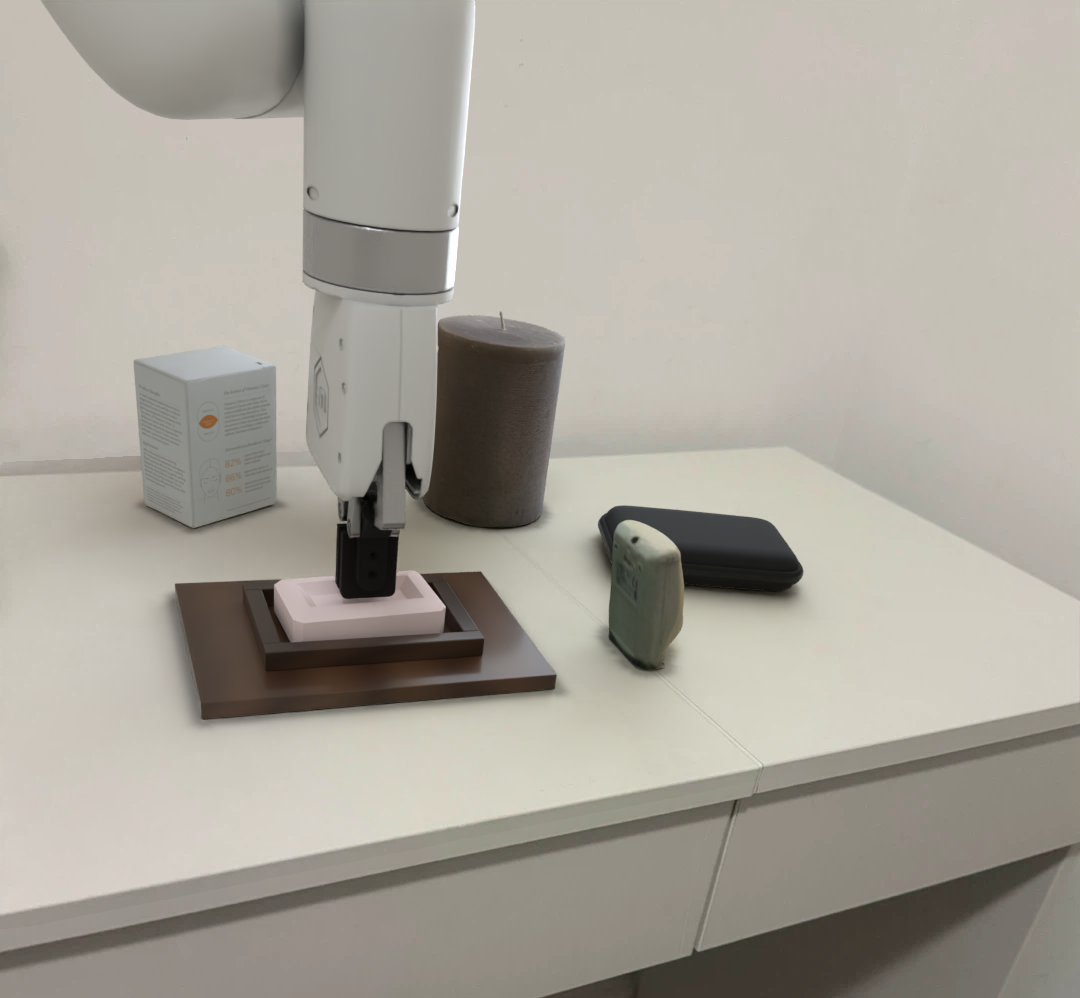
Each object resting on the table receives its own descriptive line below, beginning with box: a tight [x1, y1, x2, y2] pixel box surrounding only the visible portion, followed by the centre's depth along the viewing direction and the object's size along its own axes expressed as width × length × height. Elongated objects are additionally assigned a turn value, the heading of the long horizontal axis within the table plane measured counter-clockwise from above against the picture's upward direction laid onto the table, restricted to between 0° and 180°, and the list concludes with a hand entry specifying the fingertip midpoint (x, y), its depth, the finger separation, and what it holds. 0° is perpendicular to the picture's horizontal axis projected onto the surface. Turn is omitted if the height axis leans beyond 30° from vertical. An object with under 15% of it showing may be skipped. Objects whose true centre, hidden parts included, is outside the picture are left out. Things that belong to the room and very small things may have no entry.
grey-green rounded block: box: [608, 520, 685, 671], centre depth 66 cm, size 6×5×8 cm
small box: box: [133, 345, 278, 529], centre depth 75 cm, size 8×6×10 cm
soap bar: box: [274, 569, 446, 642], centre depth 63 cm, size 5×9×2 cm, turn 115°
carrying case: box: [597, 505, 804, 592], centre depth 81 cm, size 11×3×15 cm
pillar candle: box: [423, 311, 566, 528], centre depth 82 cm, size 10×10×15 cm
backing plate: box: [174, 571, 558, 720], centre depth 63 cm, size 20×14×2 cm
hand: (365, 591), depth 62 cm, fingers closed
